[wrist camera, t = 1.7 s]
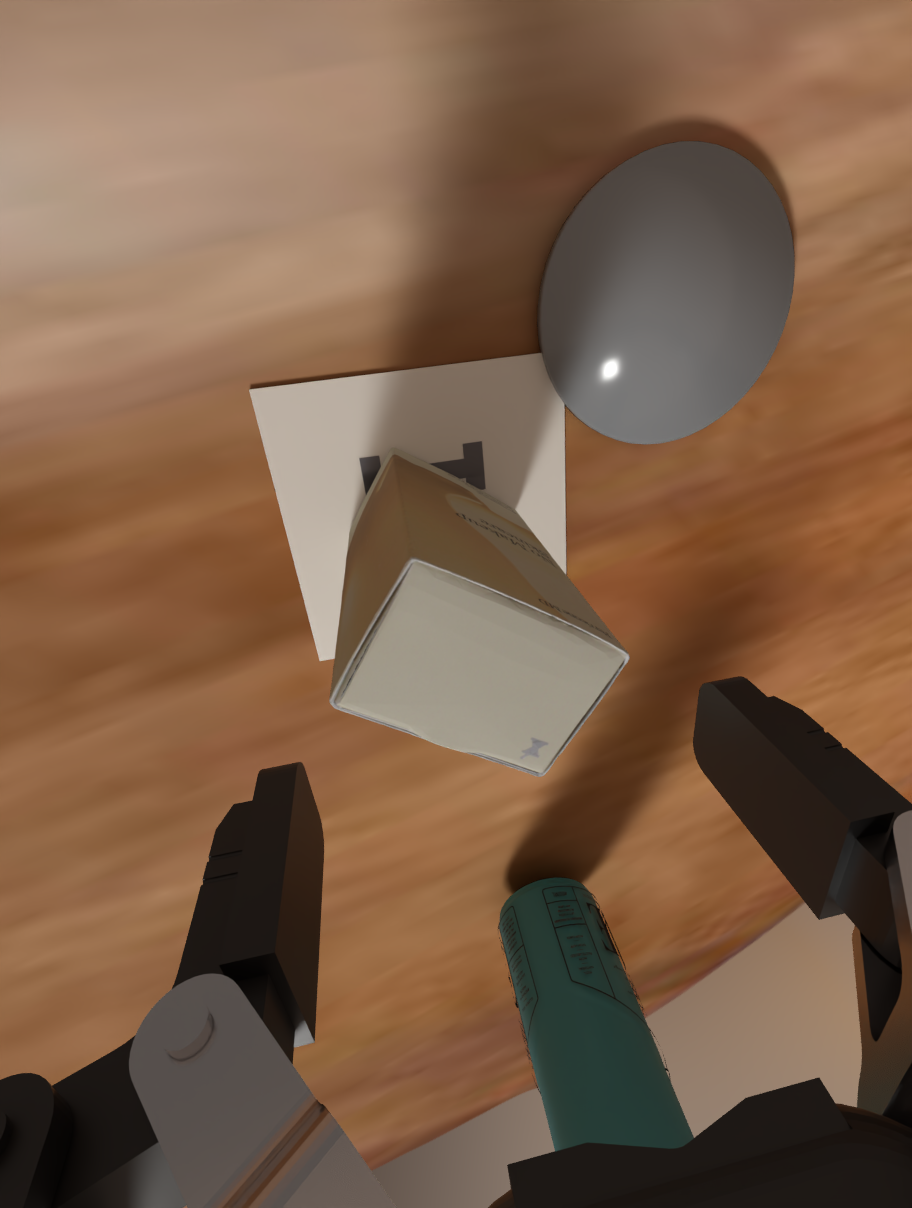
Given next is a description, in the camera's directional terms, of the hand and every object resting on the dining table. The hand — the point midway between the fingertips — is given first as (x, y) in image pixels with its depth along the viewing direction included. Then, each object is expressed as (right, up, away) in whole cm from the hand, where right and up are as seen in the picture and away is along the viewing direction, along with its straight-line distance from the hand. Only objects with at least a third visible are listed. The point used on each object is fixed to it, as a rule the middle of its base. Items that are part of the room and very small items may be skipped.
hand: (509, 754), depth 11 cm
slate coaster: (+7, +14, +10) cm, 19 cm away
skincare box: (-2, +7, +13) cm, 15 cm away
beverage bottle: (+4, -15, +25) cm, 30 cm away
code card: (-2, +7, +13) cm, 15 cm away
